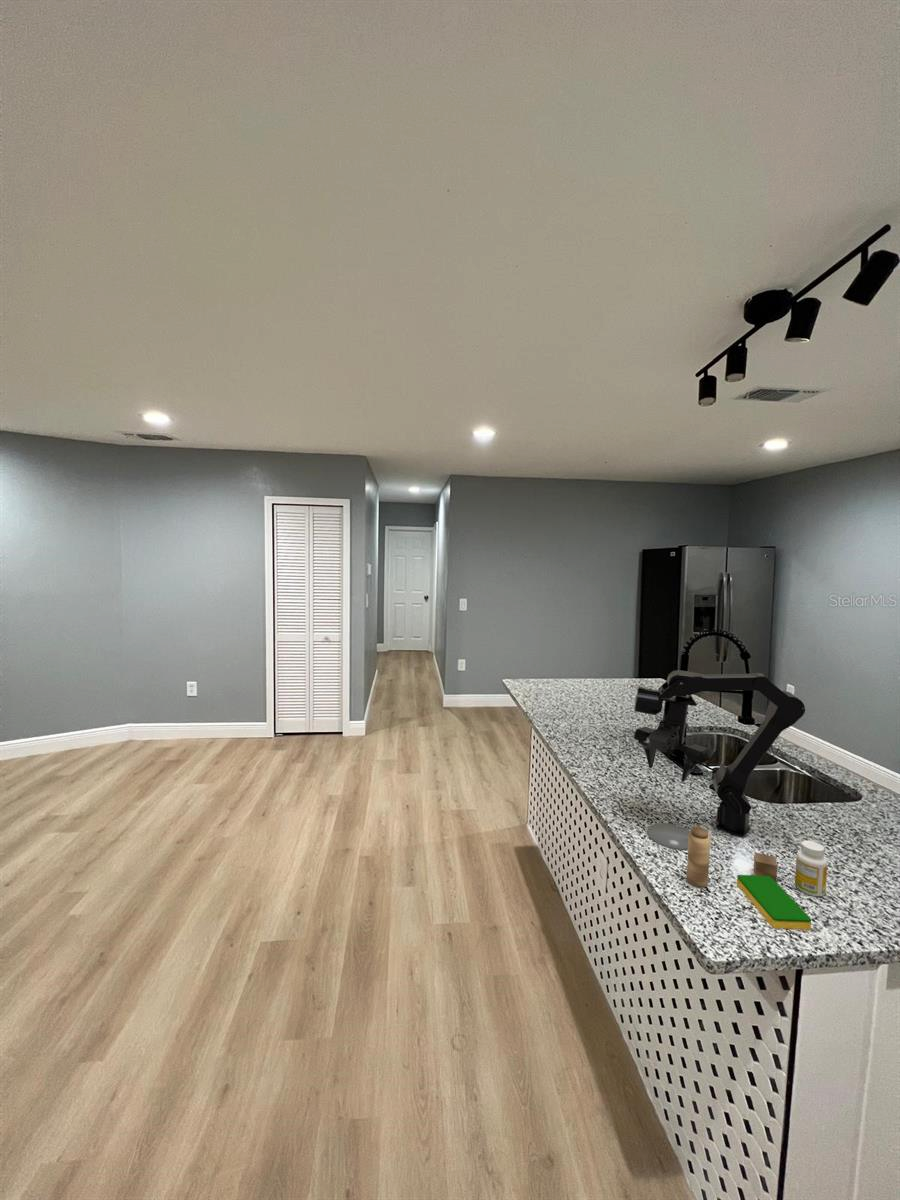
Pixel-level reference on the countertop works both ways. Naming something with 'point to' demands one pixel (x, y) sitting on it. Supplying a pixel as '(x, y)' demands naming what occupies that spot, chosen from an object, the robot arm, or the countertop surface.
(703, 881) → the brown cylinder
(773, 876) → the walnut block
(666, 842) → the slate coaster
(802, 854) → the supplement bottle
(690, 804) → the countertop surface
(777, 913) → the dish sponge
